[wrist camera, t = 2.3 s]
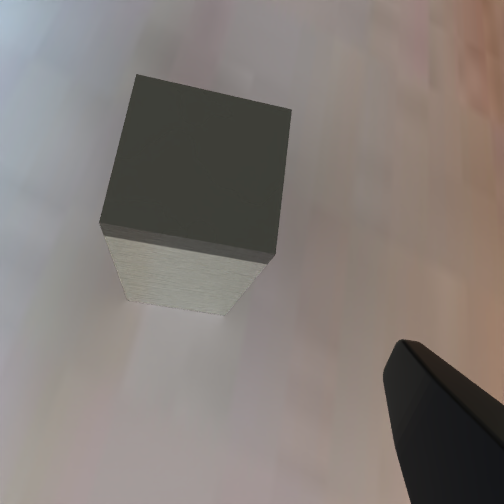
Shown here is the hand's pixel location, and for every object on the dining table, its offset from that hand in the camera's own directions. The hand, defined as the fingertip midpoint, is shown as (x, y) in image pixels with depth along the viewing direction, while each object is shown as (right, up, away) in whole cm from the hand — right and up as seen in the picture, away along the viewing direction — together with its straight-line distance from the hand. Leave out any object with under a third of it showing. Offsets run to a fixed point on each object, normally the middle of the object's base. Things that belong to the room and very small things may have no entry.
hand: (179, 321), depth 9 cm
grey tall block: (-2, +1, +13) cm, 13 cm away
